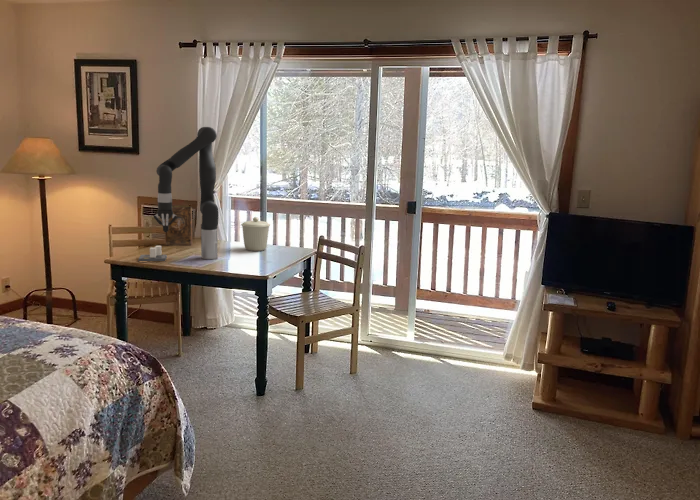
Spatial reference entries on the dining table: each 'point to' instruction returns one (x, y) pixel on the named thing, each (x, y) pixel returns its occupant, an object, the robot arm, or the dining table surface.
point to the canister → (255, 234)
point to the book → (180, 227)
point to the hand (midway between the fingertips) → (165, 232)
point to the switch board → (147, 258)
